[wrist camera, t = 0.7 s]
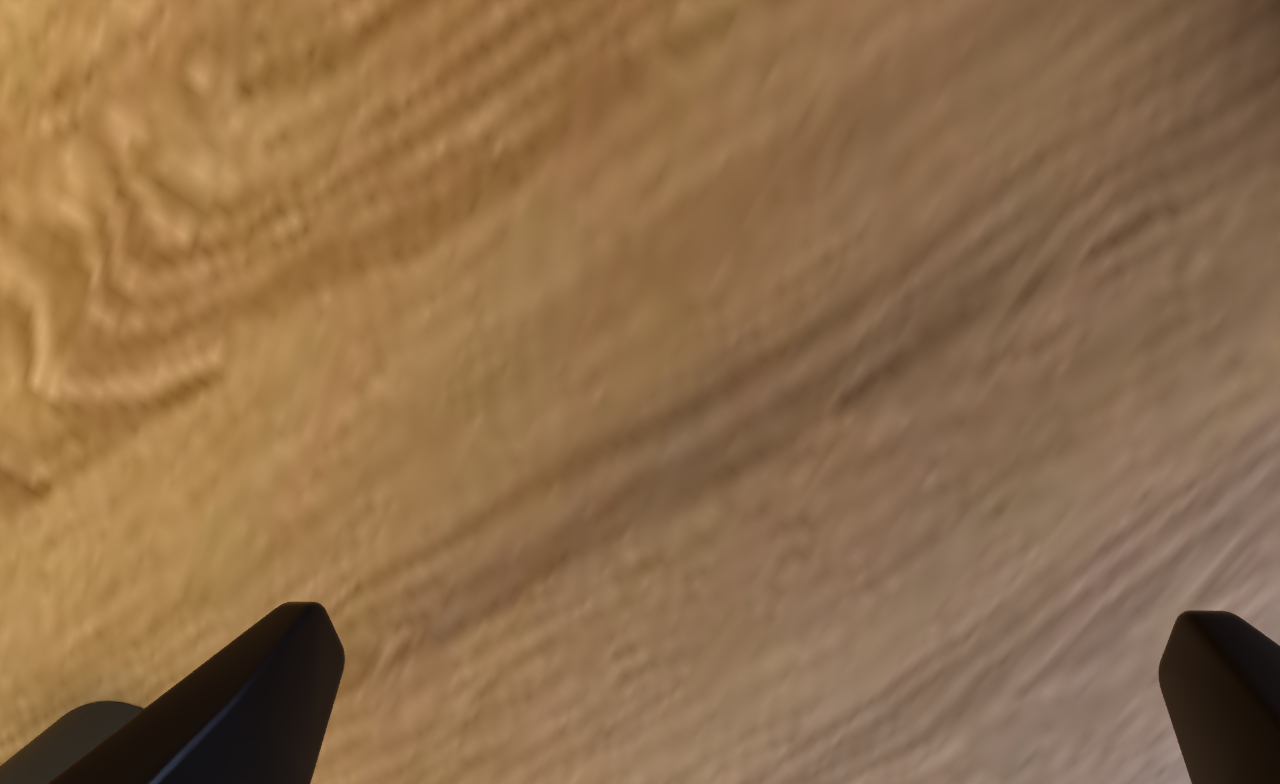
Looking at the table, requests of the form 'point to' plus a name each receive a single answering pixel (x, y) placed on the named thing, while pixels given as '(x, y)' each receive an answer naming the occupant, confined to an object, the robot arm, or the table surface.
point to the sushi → (65, 742)
